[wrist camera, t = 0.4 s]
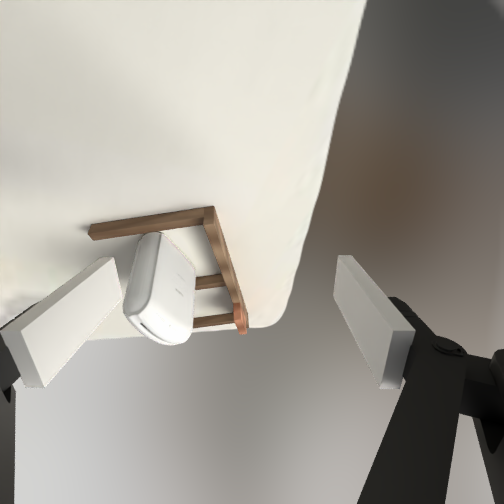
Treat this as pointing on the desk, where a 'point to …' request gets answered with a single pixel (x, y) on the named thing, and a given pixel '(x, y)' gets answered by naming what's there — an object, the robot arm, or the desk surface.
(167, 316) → the photo printer
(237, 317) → the wooden stand frame
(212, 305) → the desk surface
